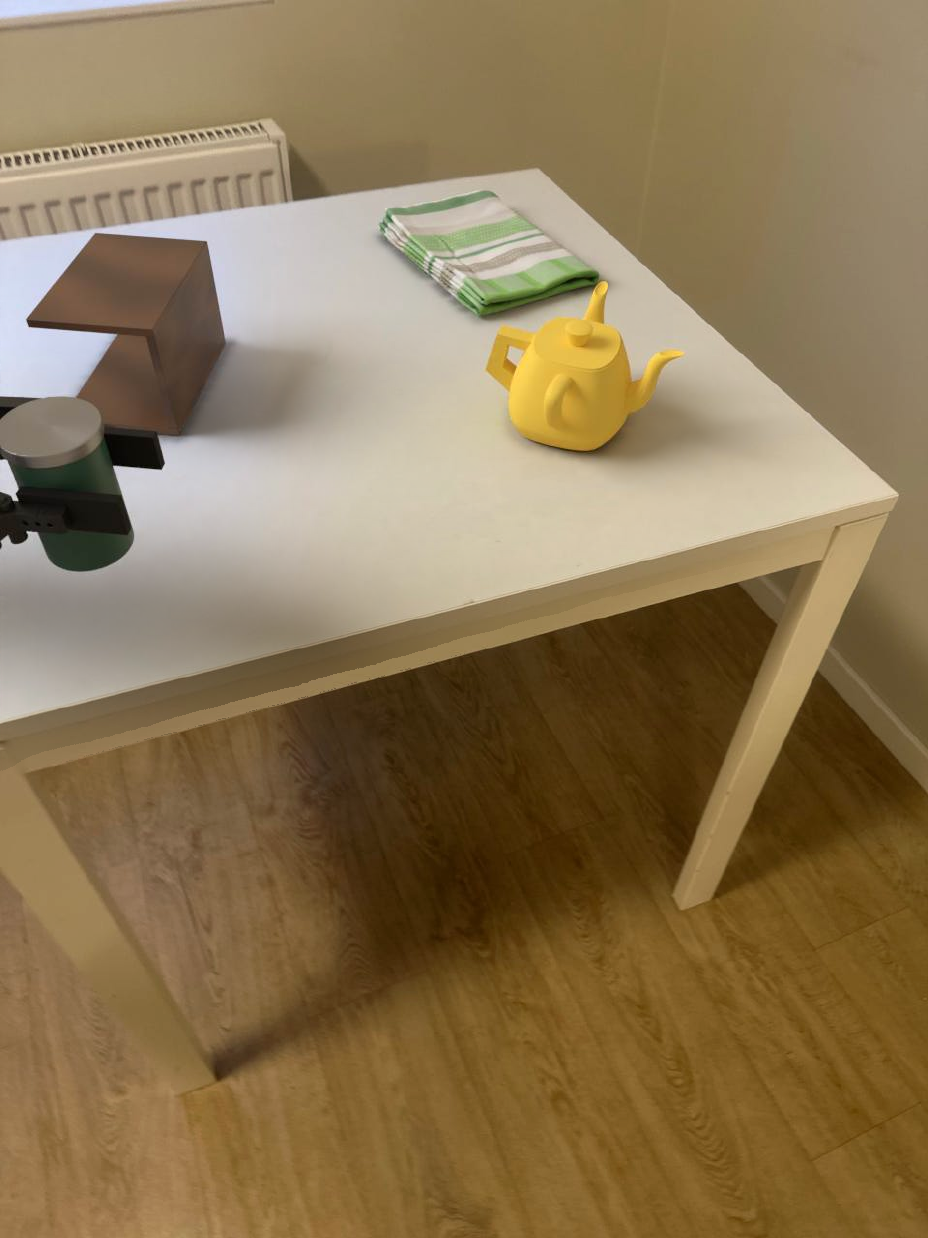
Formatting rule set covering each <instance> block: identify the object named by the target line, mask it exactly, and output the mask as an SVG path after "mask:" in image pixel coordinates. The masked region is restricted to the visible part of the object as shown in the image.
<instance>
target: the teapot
mask: <svg viewBox="0 0 928 1238" xmlns="http://www.w3.org/2000/svg"><path fill="white" fill-rule="evenodd" d="M608 291H609V284H608V282H607V281H605V280H602V281H599V282H598V283H597V284H596V286H595V288H594V289H593V292H592V295H591V298H590V301H589V304H588V307H587V309H586V312H585V314H584V317H583V318H577V317H569V316H558V317H554V318H552V319H550V320H548V321H546V322H545V323H544V324H543V325H542V326H541V327H540V328H539V329H538V331H537V332H536V333H535V332H533V331H528V330H524V329H521V328H518V327H517V328H516V327H513V326H509V325H505V324H501V325H500V327H499V329H498V331H497V333H496V336H495V339H494V341H493V345H492V348H491V352H490V354H489V358H488V360H487V363H486V367H485V370H484V371H486V372H487V373H488V374H489V376H491V377H492V378H494V380H496V381H497V382H498V383H499V384H500V385H501V386H502V387H503V388H505V390H507V391H508V392H509V393H508V403H507V405H508V406H507V407H508V413H509V418H510V420H511V422H512V424H513V426H514V427H515V429H516V430H517V432H518V433H520V435H522V436H523V437H524V438H526V439H528V440H531V441H534V442H536V443H540V444H543V445H547V446H551V447H555V448H560V449H565V450H571V451H582V452H583V451H594V450H597V449H599V448H600V447H602V446H604V445H605V444H606V443H607V442H609V441H610V440H611V439H612V438H613V437H614V436H615V435H616V434H617V433H618V432H619V430H620V429H621V428H622V427H623V425H624V424H625V422H626V420H627V418H628V417H629V414H633V413H635V412H637V411H639V410H640V409H642V408H643V407H645V405H646V404H647V403H649V400H650V399H651V397H652V396H653V394H654V391H655V389H656V385H657V383H658V379H659V377H660V374H661V372H662V370H663V369H664V367H665V366H666V365H667V364H669V363H670V362H671V361H673V360H675V359H677V358H680V357H682V356H684V355H685V352H684V351H682V350H678V349H667V350H666V349H665V350H661V351H658V352H656V353H655V354H653V356H652V357H651V358H650V359H649V361H648V363H647V365H646V368H645V370H644V373H643V375H642V377H641V378H640V379H638V380H635V381H632V380H633V379H632V371H631V364H630V361H629V355H628V353H627V350H626V347H625V343H624V340H623V337H622V334H621V333H620V331H619V330H618V329H616V328H615V327H614V326H612V325H609V324H605V306H606V300H607V299H606V298H607V294H608ZM510 347H513V348H515V349H517V350H521V351H523V353H522V355H521V357H520V359H519V361H518V363H517V365H516V364H515V363H514V362H512V361H511V360H510V359H509V358H508V354H509V350H510Z"/></svg>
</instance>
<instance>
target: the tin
mask: <svg viewBox="0 0 928 1238" xmlns="http://www.w3.org/2000/svg"><path fill="white" fill-rule="evenodd" d="M40 398H41V399H37V400H33V401H30V402H27V403H25V404H22V405H20V406H18V407H16V408H14V409H13V410H11V411H10V412H8V413H7V414H6V415H4V416H3V417H2V418H1V420H0V453H1V455H2V456H3V457H4V458H5V459H4V460H5V461H7V464H8V466H9V469H10V470H11V474H12V475H13V478H14V480H15V483H16V485H17V487H18V489H19V488H20V486H25V487H36V488H48V489H59V490H70V491H81V492H93V493H104V494H115V495H122V498H123V501H124V504H125V508H126V511H127V514H128V517H129V520H130V523H131V527H132V528H131V530H130V532H129V534H128V535H120V534H109V533H98V532H87V531H76V530H69V531H68V533H63V534H51V533H44V532H43V533H40V532H36V533H37V536H38V538H39V540H40V543H41V545H42V547H43V549H44V552H45V554H46V555H45V556H46V557H47V559H48V560H49V561H50V563H52V564H53V565H54V566H55V567H57V568H60V569H62V570H64V571H68V572H78V573H80V572H81V573H83V572H92V571H97V570H100V569H104V568H107V567H109V566H110V565H113V564H115V563H116V562H118V561H120V560H121V559H122V558H123V557H124V556H125V555H126V554H127V553H128V552H129V551H130V549H131V548H132V546H133V544H134V541H135V531H134V528H133V524H132V522H131V518H130V515H129V512H128V508H127V506H126V501H125V498H124V496H123V493H122V489H121V486H120V484H119V483H120V482H119V480H118V477H117V473H116V471H115V466H113V464H112V461H111V458H110V454H109V451H108V448H107V445H106V442H105V439H104V431H105V430H104V425H103V421H102V418H101V415H100V412H99V411H98V409H97V408H96V407H95V406H94V405H92V404H91V403H89V402H87V401H85V400H82V399H78V398H76V397H74V396H65V395H64V396H62V395H61V396H49V397H48V396H47V397H40Z"/></svg>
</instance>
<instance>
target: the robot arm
mask: <svg viewBox="0 0 928 1238" xmlns="http://www.w3.org/2000/svg"><path fill="white" fill-rule="evenodd" d="M41 398H42V397H29V396H27V397H26V396H25V397H24V396H6V395H5V396H4V395H3V396H0V420H1V418H2V417H3V416H4V415H6V414H7V413H8V412H10V411H11V410H13V409H14V408H16V407H18V406H20V405H22V404H25V403H27V402H30V401H33V400H37V399H41ZM103 425H104V430H105V431H104V439H105V442H106V445H107V448H108V451H109V454H110V458H111V461H112V464H113V467H122V468H134V469H145V470H146V469H147V470H157V471H158V470H159V471H162V470H163V468H164V466H165V464H166V462H165V458H164V454H163V450H162V446H161V442H160V439H159V434H157V431H149V430H137V429H125V428H115V427H114V426H112V425H108V424H103ZM1 460H2V461H3V460H6V459H5V458H4V457H3V456H2V455H1V453H0V461H1ZM15 496H16V499H17V500H14V499H13V497H12V495H10V494H8V493H5V492H2V491H0V550H1V549H2V547H3V543H2V541H3V540H4V539H6V538H7V537H8V538H9V540H10V543H11V544H12V545H20V544H23V543H25V542H27V540H28V539H29V534H28V533H29V532H30V533H37V532H40V533H43V532H44V533H51V534H63V533H68V531H69V530H76V531H87V532H98V533H109V534H120V535H128V534H129V532H130V530H131V528H132V527H133V526H132V527H131V524H132V522H131V523H130V521H131V519H130V520H129V518H130V516H129V517H128V515H129V513H128V514H127V512H128V510H127V511H126V508H127V507H126V508H125V505H126V503H125V504H124V502H125V500H124V501H123V499H124V497H123V498H122V496H123V494H122V495H115V494H104V493H93V492H81V491H70V490H59V489H48V488H36V487H25V486H20V488H18V489H17V490H16V492H15Z"/></svg>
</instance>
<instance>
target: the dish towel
mask: <svg viewBox="0 0 928 1238" xmlns="http://www.w3.org/2000/svg"><path fill="white" fill-rule="evenodd" d="M384 213H385V214H386V215H383V216H382V217H383V218H382V221H380V222H378V229H377V230H378V231H380V232H381V234H382V235H383V236H384V237H385V239H386V240H387V241H388V242H389V243H391V244H392V245H393V246H394V247H396V248H397V250H399V251H400V252H402V253H403V254H404V256H405V257H407V258H408V259H409V260H411V261H412V262H413V263H414V264H415V265H416V266H418V267H419V269H421V270H422V271H424V272H425V273H427V274H428V275H429V276H430V277H431V278H432V279H434V280H435V281H436V282H437V283H438V284H439V285H440V287H442V288H443V289H444V290H445V291H447V293H449V294H450V295H451V296H453V297H454V298H455V299H456V300H457V301H458V302H459V303H460V304H462V305H463V306H464V307H466V308H467V309H468V310H470V312H472V313H474V315H476V316H478V317H484V316H487V315H490V314H494V313H499V312H503V311H506V310H510V309H512V308H515V307H518V306H522V305H525V304H528V303H532V302H536V301H539V300H542V299H546V298H548V297H551V296H554V295H558V294H561V293H564V292H568V291H572V290H576V289H580V288H585V287H590V286H594V285H597V284H598V281H599V279H600V272H599V271H598V270H597V269H595V268H593V267H591V266H589V265H588V264H587V263H585V262H584V261H583V260H581V258H579V257H577V256H576V255H575V254H573V253H572V252H571V251H570V250H568V249H567V248H566V247H564V246H563V245H562V244H559V243H558V242H556V241H555V240H553V239H552V238H551V237H550V236H548V235H546V234H545V233H544V232H543V231H542V230H541V229H540V228H538V227H537V226H535V224H533V223H532V222H531V221H529V220H527V219H526V218H523V216H521V215H520V214H517V212H515V211H514V210H513V209H512V208H511V207H509V206H508V205H507V204H506V203H504V201H503V200H502V199H501V198H500V197H499V196H498V195H497V194H496V193H495V192H493V191H491V190H487V189H477V190H470V191H468V192H465V193H460V194H457V195H453V196H448V197H446V198H441V199H438V200H433V201H424V202H419V203H416V204H411V205H406V206H390V207H389V206H387V207H385V208H384Z"/></svg>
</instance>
